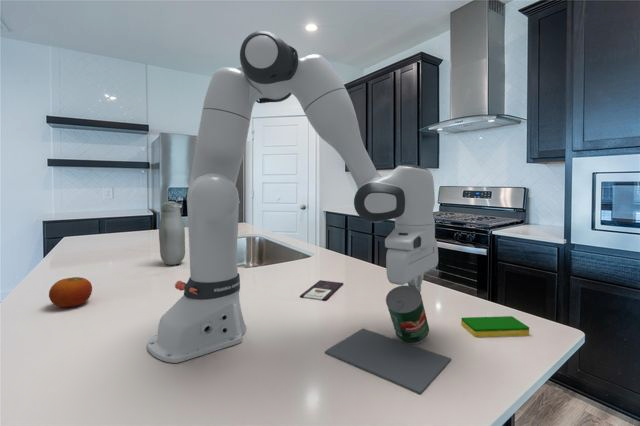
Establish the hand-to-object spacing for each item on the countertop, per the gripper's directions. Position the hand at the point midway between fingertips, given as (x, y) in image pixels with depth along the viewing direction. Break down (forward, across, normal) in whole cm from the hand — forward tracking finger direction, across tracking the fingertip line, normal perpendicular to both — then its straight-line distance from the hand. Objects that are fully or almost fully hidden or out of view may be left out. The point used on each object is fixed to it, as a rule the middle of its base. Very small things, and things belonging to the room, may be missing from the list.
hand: (415, 293), depth 80 cm
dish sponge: (+12, -17, +13) cm, 25 cm away
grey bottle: (+8, +3, -112) cm, 112 cm away
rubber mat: (+11, +12, -1) cm, 16 cm away
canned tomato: (+9, 0, -1) cm, 9 cm away
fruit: (+8, +46, -88) cm, 100 cm away
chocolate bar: (+11, -12, -39) cm, 42 cm away
